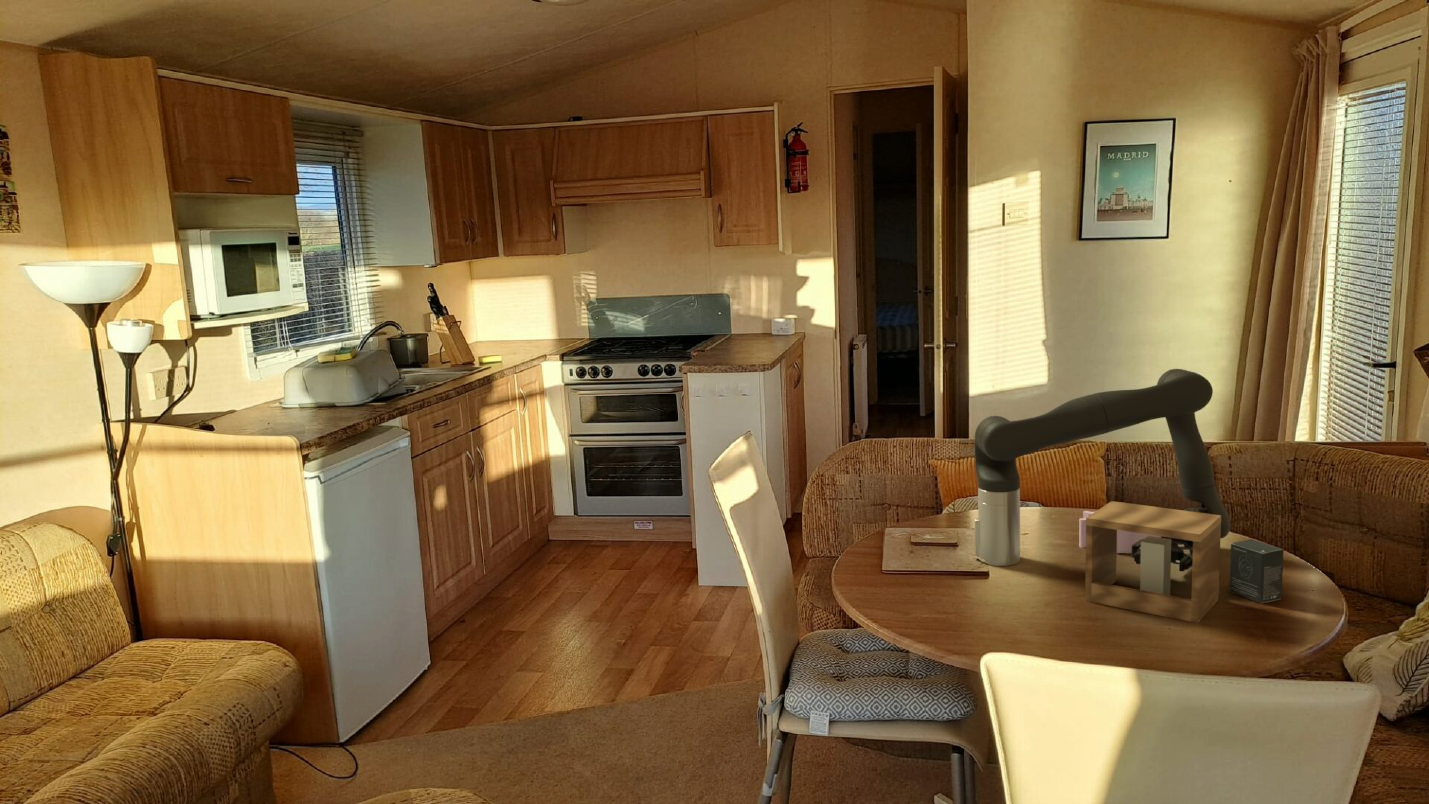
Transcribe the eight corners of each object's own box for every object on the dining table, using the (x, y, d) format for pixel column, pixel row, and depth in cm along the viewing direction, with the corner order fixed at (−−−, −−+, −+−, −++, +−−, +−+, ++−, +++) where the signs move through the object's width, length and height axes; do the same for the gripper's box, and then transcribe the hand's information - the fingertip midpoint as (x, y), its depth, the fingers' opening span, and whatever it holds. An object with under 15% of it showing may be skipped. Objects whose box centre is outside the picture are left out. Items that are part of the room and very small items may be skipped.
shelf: (1085, 600, 207) (1086, 518, 204) (1110, 580, 217) (1111, 501, 214) (1197, 622, 193) (1200, 534, 190) (1218, 599, 204) (1221, 515, 201)
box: (1282, 599, 202) (1284, 548, 200) (1260, 604, 200) (1262, 553, 198) (1249, 587, 209) (1251, 538, 207) (1228, 592, 207) (1230, 542, 206)
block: (1139, 598, 207) (1140, 541, 204) (1147, 591, 210) (1148, 535, 208) (1162, 602, 204) (1164, 545, 202) (1169, 595, 207) (1171, 539, 205)
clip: (1174, 543, 239) (1174, 514, 238) (1170, 559, 228) (1171, 530, 227) (1084, 535, 249) (1085, 508, 247) (1077, 550, 238) (1077, 522, 237)
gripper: (1148, 520, 223) (1123, 540, 211) (1218, 530, 214) (1196, 551, 202) (1148, 553, 225) (1123, 574, 213) (1217, 564, 216) (1195, 587, 203)
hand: (1159, 563), depth 207 cm, fingers open, 8 cm apart
